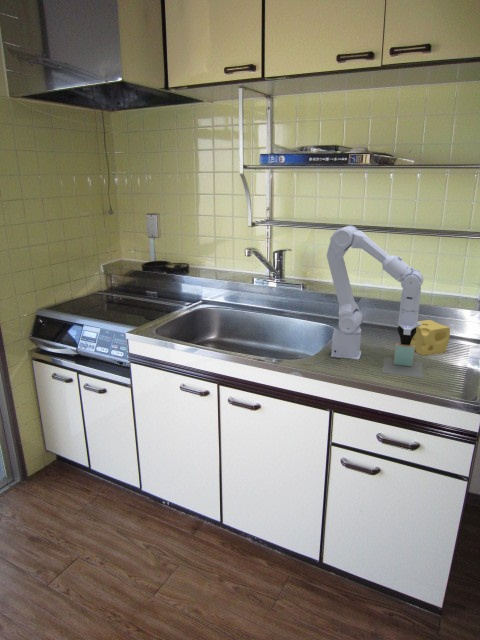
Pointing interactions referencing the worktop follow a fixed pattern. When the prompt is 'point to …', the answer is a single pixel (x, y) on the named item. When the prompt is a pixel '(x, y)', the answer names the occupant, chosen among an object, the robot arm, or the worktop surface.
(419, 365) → the mat
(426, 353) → the cheese
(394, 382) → the worktop surface
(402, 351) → the tile
